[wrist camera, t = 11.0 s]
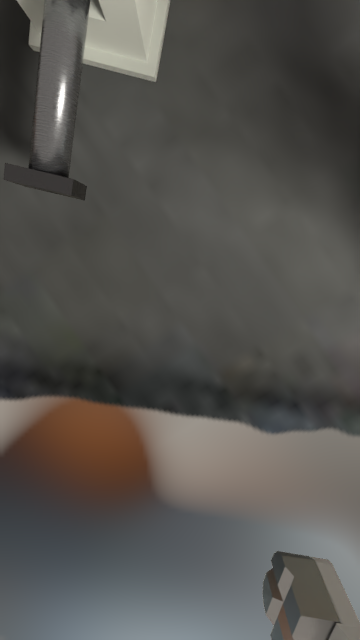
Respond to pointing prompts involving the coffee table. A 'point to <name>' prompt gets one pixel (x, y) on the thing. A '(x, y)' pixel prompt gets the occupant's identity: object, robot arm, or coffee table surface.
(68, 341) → the coffee table surface
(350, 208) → the coffee table surface
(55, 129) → the shaft
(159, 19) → the block
